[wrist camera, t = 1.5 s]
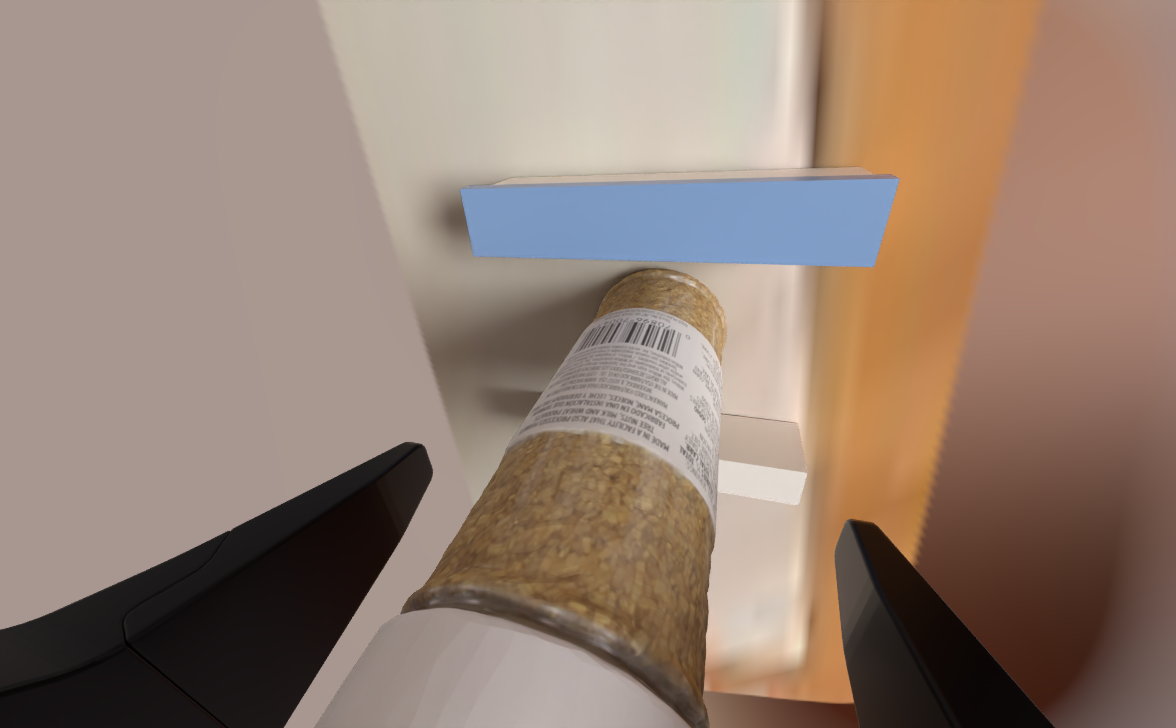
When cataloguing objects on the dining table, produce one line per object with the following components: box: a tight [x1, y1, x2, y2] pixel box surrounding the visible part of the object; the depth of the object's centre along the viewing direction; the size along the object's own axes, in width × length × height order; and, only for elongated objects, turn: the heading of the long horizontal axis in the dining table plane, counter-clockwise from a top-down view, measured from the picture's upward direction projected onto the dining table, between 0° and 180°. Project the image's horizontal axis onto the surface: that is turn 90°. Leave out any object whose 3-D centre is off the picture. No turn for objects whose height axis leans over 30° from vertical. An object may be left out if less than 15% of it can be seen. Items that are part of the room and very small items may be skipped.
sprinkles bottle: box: [314, 269, 727, 728], centre depth 9 cm, size 5×5×13 cm
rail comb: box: [460, 167, 900, 505], centre depth 11 cm, size 19×10×3 cm, turn 4°
